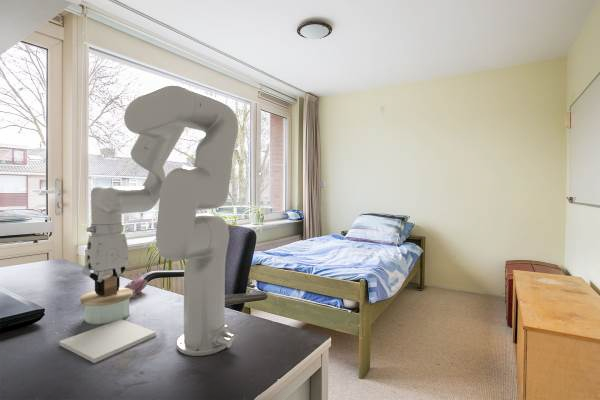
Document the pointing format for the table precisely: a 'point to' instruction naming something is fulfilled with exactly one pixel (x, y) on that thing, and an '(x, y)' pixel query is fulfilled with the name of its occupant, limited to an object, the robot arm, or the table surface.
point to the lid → (107, 294)
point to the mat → (107, 340)
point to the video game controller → (137, 285)
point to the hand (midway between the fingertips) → (107, 291)
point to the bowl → (106, 313)
